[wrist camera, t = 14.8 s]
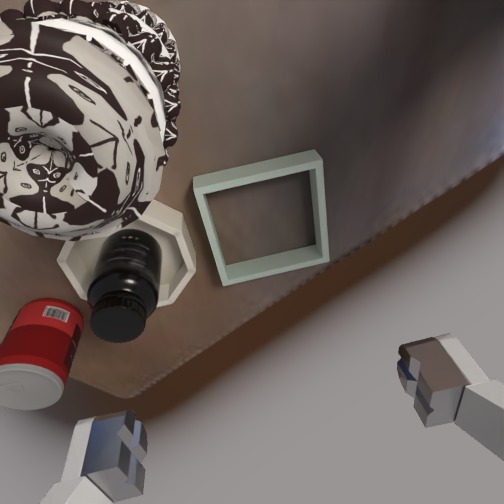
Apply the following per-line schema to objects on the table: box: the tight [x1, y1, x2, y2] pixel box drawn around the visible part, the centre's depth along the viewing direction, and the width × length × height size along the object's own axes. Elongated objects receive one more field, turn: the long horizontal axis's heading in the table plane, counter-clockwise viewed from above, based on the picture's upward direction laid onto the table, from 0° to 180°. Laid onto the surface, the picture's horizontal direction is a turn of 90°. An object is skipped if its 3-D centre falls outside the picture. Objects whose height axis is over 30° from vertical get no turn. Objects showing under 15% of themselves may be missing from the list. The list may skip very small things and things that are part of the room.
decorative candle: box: [0, 0, 181, 241], centre depth 22 cm, size 9×9×25 cm
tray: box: [193, 149, 330, 286], centre depth 43 cm, size 14×14×3 cm
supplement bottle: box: [87, 229, 162, 343], centre depth 38 cm, size 7×7×12 cm
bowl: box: [56, 199, 196, 307], centre depth 42 cm, size 14×14×4 cm
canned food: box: [0, 298, 83, 410], centre depth 44 cm, size 8×8×11 cm
